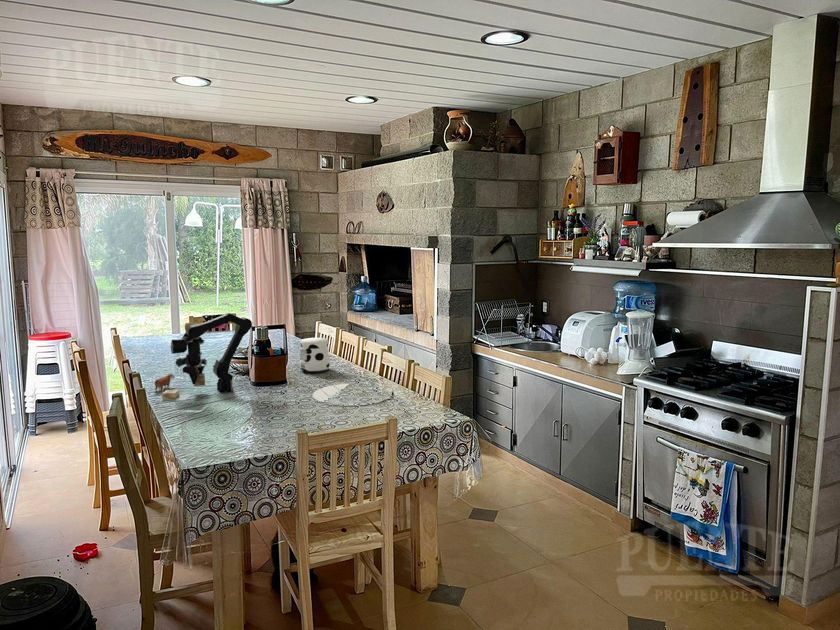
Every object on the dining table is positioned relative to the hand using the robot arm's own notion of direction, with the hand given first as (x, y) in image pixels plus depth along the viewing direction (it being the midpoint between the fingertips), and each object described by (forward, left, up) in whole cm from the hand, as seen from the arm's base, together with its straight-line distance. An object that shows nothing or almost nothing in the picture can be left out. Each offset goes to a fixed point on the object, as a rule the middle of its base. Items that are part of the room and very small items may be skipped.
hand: (195, 382), depth 297 cm
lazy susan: (-77, +4, -7) cm, 78 cm away
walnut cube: (-2, 0, -1) cm, 2 cm away
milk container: (-52, -48, -7) cm, 71 cm away
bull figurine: (+19, -10, -7) cm, 22 cm away
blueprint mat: (+8, +7, -6) cm, 12 cm away
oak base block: (+10, +7, -5) cm, 13 cm away
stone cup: (+46, -139, -7) cm, 147 cm away
